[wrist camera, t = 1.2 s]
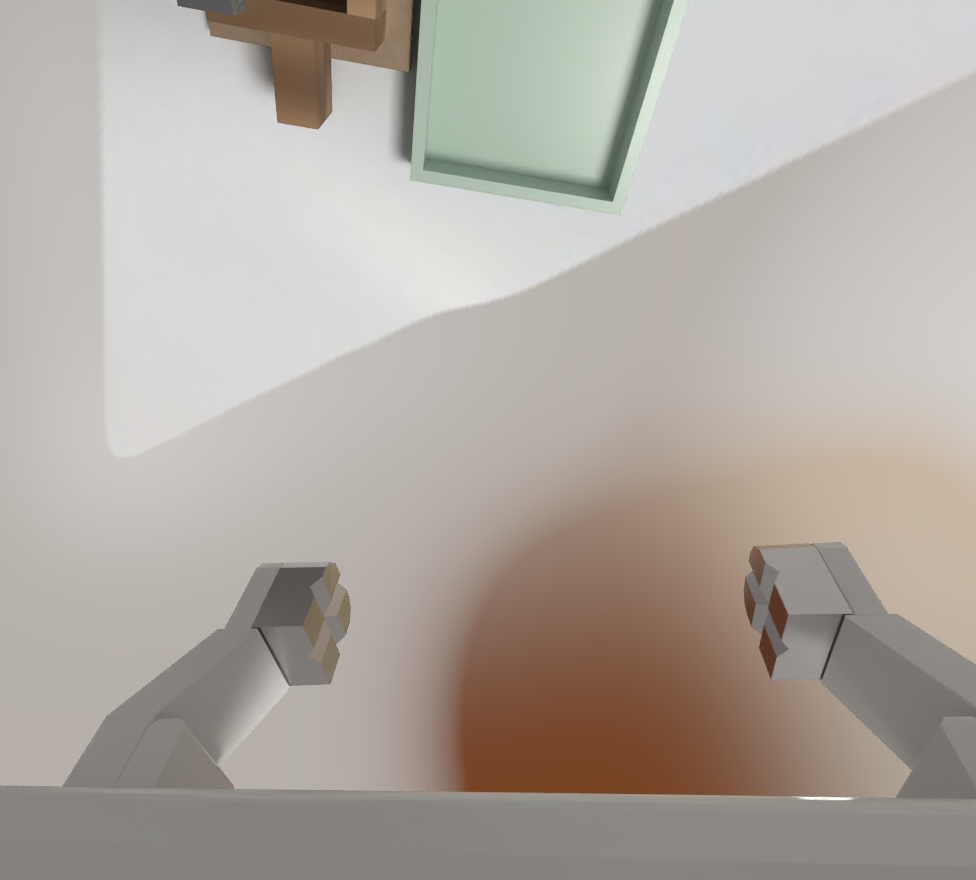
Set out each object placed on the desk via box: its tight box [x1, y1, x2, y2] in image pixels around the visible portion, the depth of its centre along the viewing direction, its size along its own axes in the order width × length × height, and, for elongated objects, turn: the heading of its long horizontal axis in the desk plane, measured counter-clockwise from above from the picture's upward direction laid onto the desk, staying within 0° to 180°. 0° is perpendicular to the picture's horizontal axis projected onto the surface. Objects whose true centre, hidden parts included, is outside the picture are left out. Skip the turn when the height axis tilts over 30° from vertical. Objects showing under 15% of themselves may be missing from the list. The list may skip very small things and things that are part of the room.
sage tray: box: [410, 0, 689, 215], centre depth 34 cm, size 20×15×3 cm
